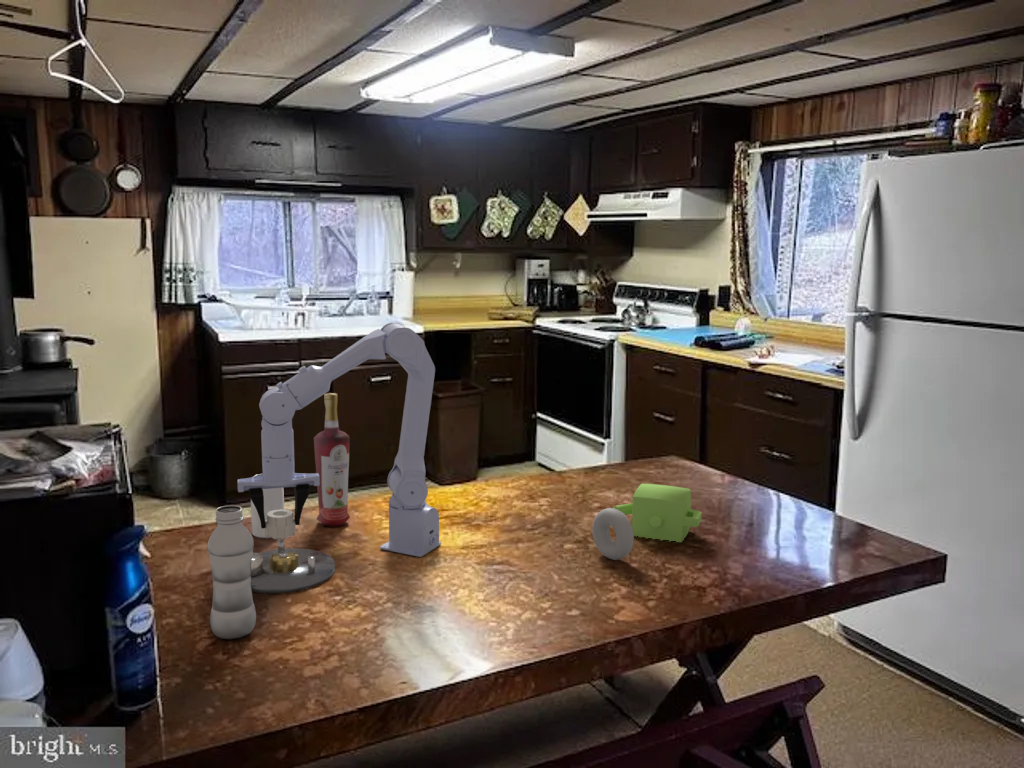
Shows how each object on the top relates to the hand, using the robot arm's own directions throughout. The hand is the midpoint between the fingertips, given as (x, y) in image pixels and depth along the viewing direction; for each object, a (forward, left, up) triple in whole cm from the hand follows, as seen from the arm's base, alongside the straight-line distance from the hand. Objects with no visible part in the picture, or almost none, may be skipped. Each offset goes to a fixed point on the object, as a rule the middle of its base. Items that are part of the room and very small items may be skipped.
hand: (280, 524), depth 153 cm
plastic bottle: (-13, +26, -7) cm, 30 cm away
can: (+12, -10, -7) cm, 17 cm away
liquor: (+4, -21, -7) cm, 22 cm away
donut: (-55, -30, -7) cm, 63 cm away
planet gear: (0, 0, -2) cm, 2 cm away
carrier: (-4, +5, -7) cm, 9 cm away
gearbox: (-59, -47, -7) cm, 76 cm away
